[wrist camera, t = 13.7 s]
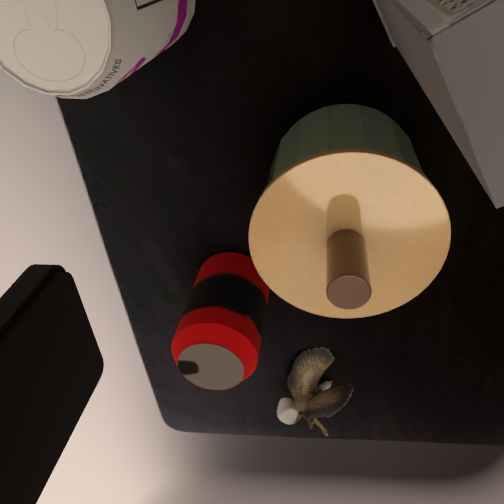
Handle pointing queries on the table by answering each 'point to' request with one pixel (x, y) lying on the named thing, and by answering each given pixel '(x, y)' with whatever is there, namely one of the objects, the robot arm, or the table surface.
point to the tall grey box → (458, 73)
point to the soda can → (222, 323)
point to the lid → (349, 233)
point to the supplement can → (85, 41)
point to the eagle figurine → (312, 390)
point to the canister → (342, 135)
